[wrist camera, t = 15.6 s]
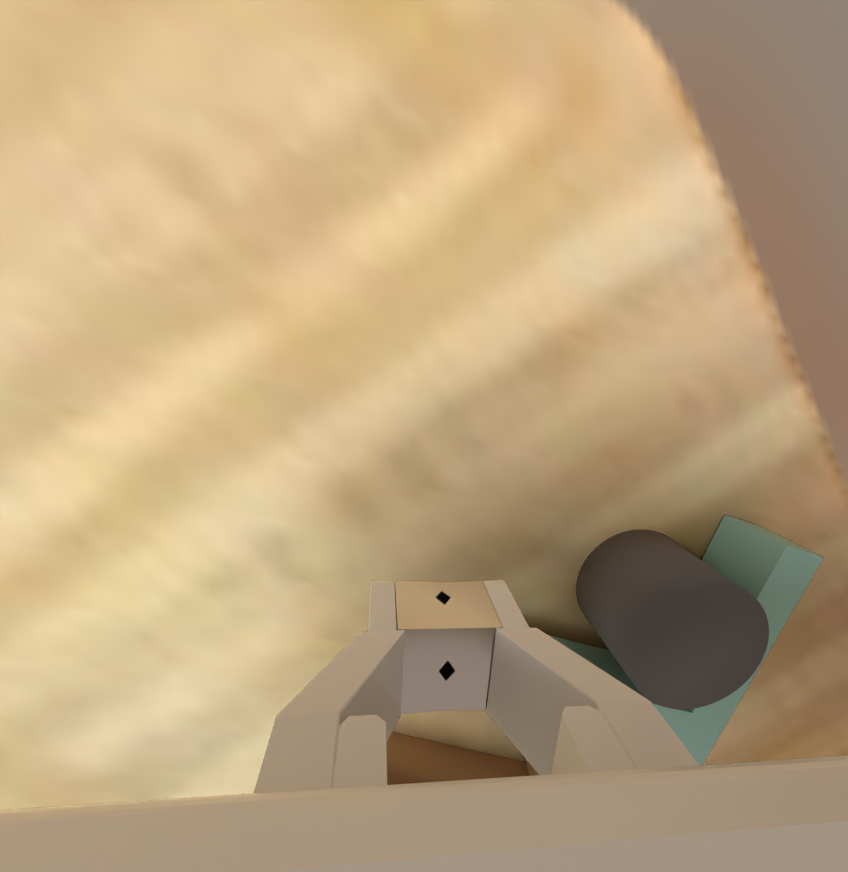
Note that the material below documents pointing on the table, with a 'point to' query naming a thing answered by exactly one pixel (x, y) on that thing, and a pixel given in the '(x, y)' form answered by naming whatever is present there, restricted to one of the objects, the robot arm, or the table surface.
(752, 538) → the rail
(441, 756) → the t block
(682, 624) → the grey rounded lump
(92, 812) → the robot arm
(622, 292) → the table surface
